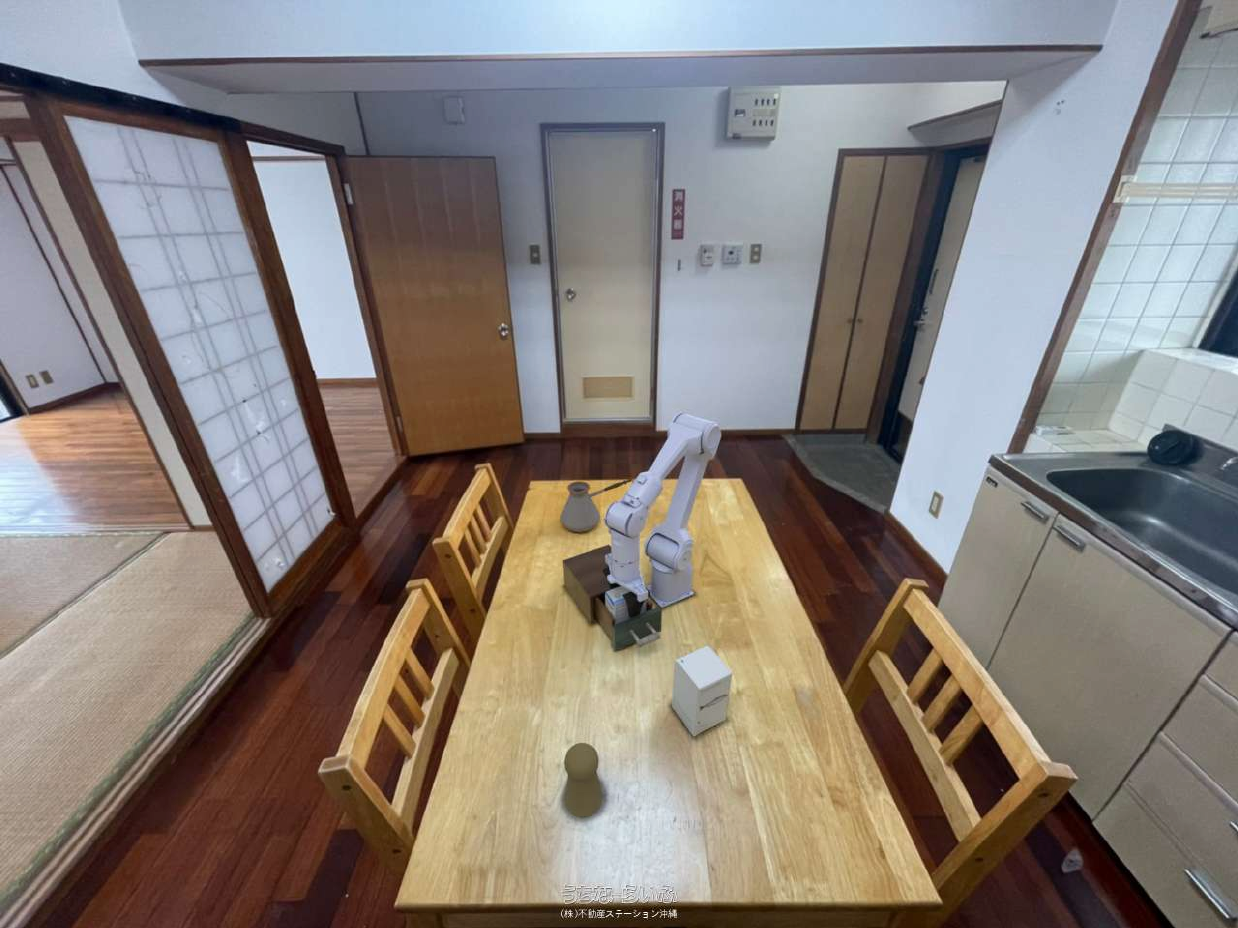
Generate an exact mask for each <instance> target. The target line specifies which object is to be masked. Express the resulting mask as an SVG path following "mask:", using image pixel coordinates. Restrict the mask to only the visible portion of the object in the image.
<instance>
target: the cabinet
mask: <svg viewBox="0 0 1238 928" xmlns="http://www.w3.org/2000/svg"><path fill="white" fill-rule="evenodd" d="M610 553H611V544H606V545H603V546H600V547H597V548H594V549H592V550H588V551H586V552H582V553H580V554H577V555H573V556H570V557H568V558H565V559H562V572H563V585H564V588H565V590H566V591H567V592H568V594H569V595H570V596H571V598H572V600H573V601H574V603H576V606H577V607H578V608H579V610H580V611H581V612H582V614H583V616H584V617H585V618H586V620H587V621H588V623H589V624H590V625H594V624H597V623H599V622H598V620H597V619H596V618H595V616H594V608H593V598H596V597H599V596H601V595H604V594H605V592H607V591H609V590H611V589H610V586H609V583H608V581H607V578H606V577H605V575H604V574H603V572H602V571H603V569H604V568H607V567H608V566H609V565H608V564H607V563H606V562H605V555H607V554H610Z"/></svg>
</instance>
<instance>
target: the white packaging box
mask: <svg viewBox="0 0 1238 928" xmlns="http://www.w3.org/2000/svg"><path fill="white" fill-rule="evenodd" d="M732 678H733V672H732V671H731V669H730V668H729V667H728V666H727V665H726V664H725V662H724V661H722V659H721V658H720V657H719V656H718V654H716V653H715V651H714V650H713V649H712V647H711V646H710V645H707V644H706V645H704V646H702V647H700V648H699V649H696V650H694V651H691V652H689V653H686V654H685V655H682V656H681V657H678V658H676V659H675V660H674V672H673V684H672V696H671V697H672V699H671V707H672V709H673V710H674V712H675V713H676V715H677V716H678V718H679V719H680V720H681V722H682V723H683V725H684V726H685V727H686V729H687V730H688V731H689V733H690V734H691V736H692V737H697V736H699V735H700V734H701V733H704V732H705V731H707V730H708V729H710V728H713V727H714V726H716V725H718V724H720V723H722V722H725V721H726V719H727V713H728V705H729V699H730V693H731V684H732Z"/></svg>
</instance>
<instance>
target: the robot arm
mask: <svg viewBox="0 0 1238 928" xmlns="http://www.w3.org/2000/svg"><path fill="white" fill-rule="evenodd" d="M666 435H667V439H666V440H665V443H664V444H663V446H662V448H661V449H660V450H659V452H658V454H657V456H656V457H655V459H654V461H653V462H652V464H651V466H650V467H649V469H648V471H643V472H640V473H639V474H638V475H637V477H636V478H635V479H634V480H633V481H634V482H633V483H632V484H631V485H630V486H629V488H628V489H627V490H626V491H625V493H624V494H623V495H622V497H621V499H620V500H616V501H614V502H612V503H611V504H610V505H609V506H608V507H607V509H606V512H605V516H604V518H603V522H604V525H605V526H606V527H607V529H608V534H610V546H611V553H610V554H607V555H605V562H606V563H607V564H608V565H609V566H608V567H607V568H604V569H603V571H602V572H603V574H604V575H605V577H606V578H607V581H608V583H609V586H610V589H611V590H612V589H614V588H617V587H619V586H623V587H625V588H626V589H628V590H630V591H631V592H628V593H625V594H623V595H622V597H623V598H624V599H625V601H626V604H627V608H628V614H629V617H630V618H632V617H634V616H636V615H639V614H640V611H641V608H642V606H643V604H644V602H645V601H646V600H647V599H649V597H650V598H651V599H652V600H653V601H654V602H655V604H657V606H659V607H660V608H661V609H663V608H666V607H669V606H671V605H673V604H675V603H678V602H679V601H682V600H685V599H686V598H689V597H692V596H694V591H693V577H694V569H693V565H692V563H691V560H692V557H693V556H692V555H693V553H692V552H693V546H694V539H693V537H692V536H691V535H690V533H689V531H688V529H687V526H688V523H689V520H690V518H691V515H692V512H693V509H694V505H695V503H696V499H697V496H698V494H699V490H700V488H701V484H702V480H703V478H704V474H705V472H706V469H707V466H708V463H709V461H712V460H714V459H715V456H716V455H717V450H718V447H719V444H720V441H721V438H722V430H721V427H720V424H719V423H718V422H716V421H710V420H707V419H703V418H700V417H697V416H694V415H691V414H687V413H685V412H682V411H680V412H677V413H676V414H675V415H674V416H673V417H672V418H671V421H670V423H669V424H668V427H667V433H666ZM683 457H684V460H683V463H682V465H681V466H682V467H681V469H680V473H679V476H678V479H677V481H676V485H675V488H674V491H673V495H672V496H671V497H672V498H671V500H670V504H669V507H668V510H667V512H666V515H665V519H664V522H662V523H659V524H656V525H654V526H653V527H652V529H651V532H650V533H649V535H648V537H647V538H646V540H645V543H644V546H643V547H644V555H646V556H647V557H648V562H650V563H651V572H650V573H651V577H650V581H651V582H650V584H647V585H645V583H644V579H643V576H642V573H641V569H640V544H641V543H640V538H641V537H640V535H641V533H642V531H643V530H644V529H645V527H646V523H647V520H648V518H649V516H650V509H651V508H652V507H653V505H654V504H655V502H656V501H657V499H658V498H659V496H660V495H661V494H662V492H663V491H664V485H663V483H664V482H663V481H664V480H665V479H666V478H667V477H668V475H670V473H671V472H672V470H673V469H674V468H675V467H676V466H677V465H678V463H679V462H680V461H681V460H682V458H683Z"/></svg>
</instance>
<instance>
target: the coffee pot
mask: <svg viewBox="0 0 1238 928" xmlns="http://www.w3.org/2000/svg"><path fill="white" fill-rule="evenodd" d="M634 481H635V480H634V479H633V478H627V479H626V480H625V479H624V480H623V481H620V482H616V483H613V484H611V485H608V486H606V487H605V488H602V489H599V490H597V491H594V492H591V493H589V491H590V489H591V485H590V484H589V483H588V482H586V481H583V480H581V481H580V480H578V481H572V482H570V483H568V485H567V487H566V489H567V491H568V492H569V495H568V497H567V498H566V502H565V504H564V506H563V509H562V511H561V513H560V516H559V519H560V520H559V521H560V522H561V524H562V526H563V527H565V528H566V529H567V530H569V531H570V532H573V533H578V534H579V533H580V534H581V533H586V532H588V531H591V530H592V529H593V528H594V527H596V526H597V525H598V523H599V521H600V519H601V514H600V512H599V510H598V508H597V506H596V504H595V502H594V501H593V499H592V498H593V497H595V496H597V495H599V494H602V493H604V492H608V491H611V490H614V489H617V488H619V487H621V486H623V485H627V484H628V483H632V484H633V482H634Z"/></svg>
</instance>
